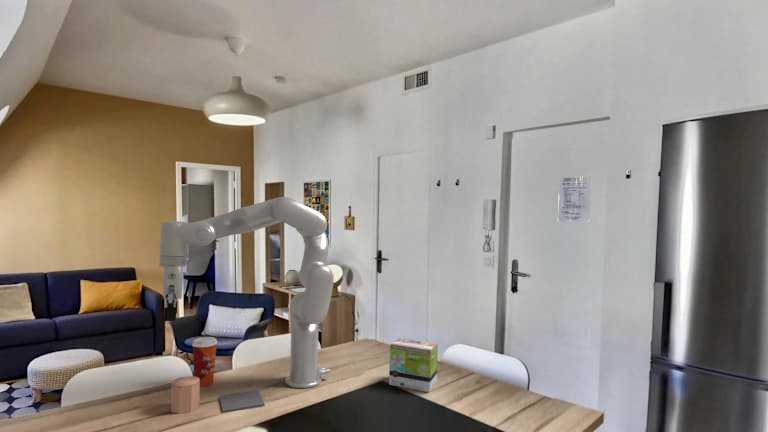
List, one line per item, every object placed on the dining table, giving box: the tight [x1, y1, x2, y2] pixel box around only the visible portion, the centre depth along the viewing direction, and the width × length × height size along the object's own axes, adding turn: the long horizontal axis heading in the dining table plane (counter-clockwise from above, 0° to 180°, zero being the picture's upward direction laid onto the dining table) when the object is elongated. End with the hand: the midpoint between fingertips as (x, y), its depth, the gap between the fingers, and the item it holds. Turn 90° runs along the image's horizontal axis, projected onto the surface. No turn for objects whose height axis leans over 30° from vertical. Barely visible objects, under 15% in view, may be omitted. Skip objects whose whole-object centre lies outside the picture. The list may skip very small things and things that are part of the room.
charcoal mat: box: [219, 389, 266, 413], centre depth 132 cm, size 12×12×1 cm
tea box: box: [388, 337, 439, 393], centre depth 150 cm, size 15×10×15 cm
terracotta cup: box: [170, 375, 201, 415], centre depth 127 cm, size 8×8×8 cm
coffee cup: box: [191, 336, 218, 387], centre depth 147 cm, size 8×8×15 cm
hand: (170, 317), depth 129 cm, fingers open, 9 cm apart
